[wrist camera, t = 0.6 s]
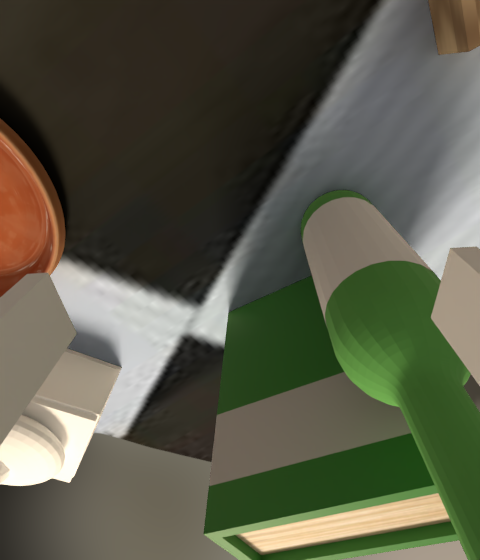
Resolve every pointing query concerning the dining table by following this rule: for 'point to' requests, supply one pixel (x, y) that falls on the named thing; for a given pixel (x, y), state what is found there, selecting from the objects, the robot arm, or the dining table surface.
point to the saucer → (26, 213)
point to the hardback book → (310, 447)
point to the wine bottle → (397, 343)
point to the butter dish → (58, 421)
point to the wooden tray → (456, 25)
